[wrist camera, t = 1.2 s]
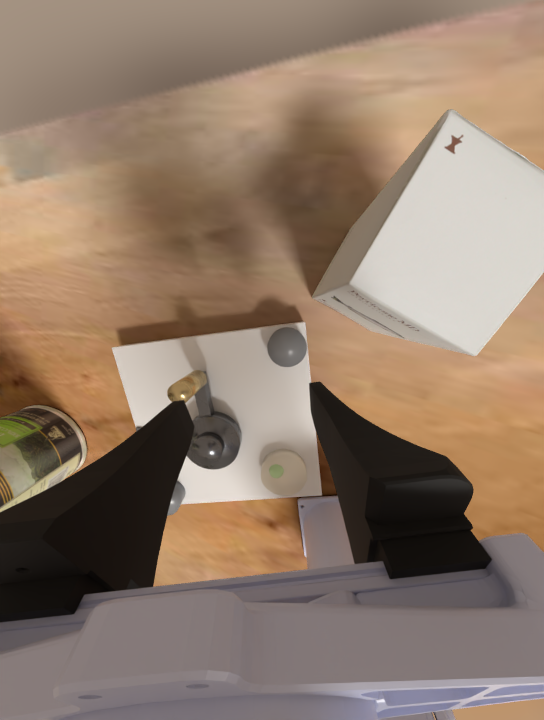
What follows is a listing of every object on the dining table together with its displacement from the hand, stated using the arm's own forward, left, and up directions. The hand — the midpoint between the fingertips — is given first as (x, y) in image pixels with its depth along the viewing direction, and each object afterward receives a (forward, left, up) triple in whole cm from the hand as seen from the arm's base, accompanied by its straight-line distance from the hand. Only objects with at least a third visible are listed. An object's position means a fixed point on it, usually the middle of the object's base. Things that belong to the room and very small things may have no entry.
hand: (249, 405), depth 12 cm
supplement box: (+7, -10, -12) cm, 17 cm away
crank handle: (-5, +7, -9) cm, 12 cm away
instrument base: (-6, +6, -11) cm, 14 cm away
